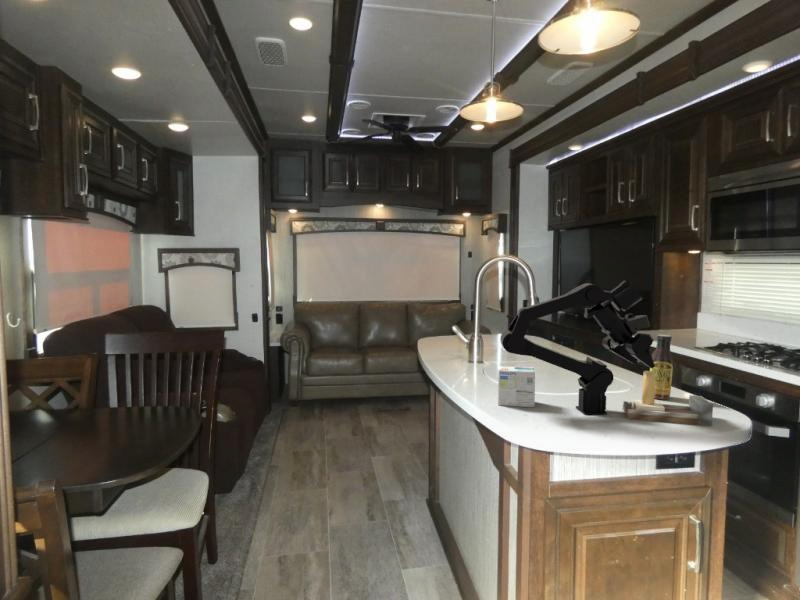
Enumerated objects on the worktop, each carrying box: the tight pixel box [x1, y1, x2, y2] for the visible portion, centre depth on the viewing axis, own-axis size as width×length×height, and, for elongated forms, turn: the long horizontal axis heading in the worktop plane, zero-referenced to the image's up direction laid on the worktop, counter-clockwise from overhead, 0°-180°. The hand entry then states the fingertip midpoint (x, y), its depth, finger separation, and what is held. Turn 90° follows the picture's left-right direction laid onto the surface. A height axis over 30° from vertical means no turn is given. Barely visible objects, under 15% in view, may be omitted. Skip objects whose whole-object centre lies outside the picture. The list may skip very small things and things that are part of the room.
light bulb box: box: [497, 365, 536, 408], centre depth 146 cm, size 11×7×11 cm, turn 78°
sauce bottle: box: [649, 334, 674, 400], centre depth 152 cm, size 7×6×20 cm
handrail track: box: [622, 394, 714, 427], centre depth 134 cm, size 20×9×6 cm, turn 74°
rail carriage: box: [631, 370, 665, 412], centre depth 135 cm, size 7×6×11 cm
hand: (644, 365), depth 137 cm, fingers open, 9 cm apart
